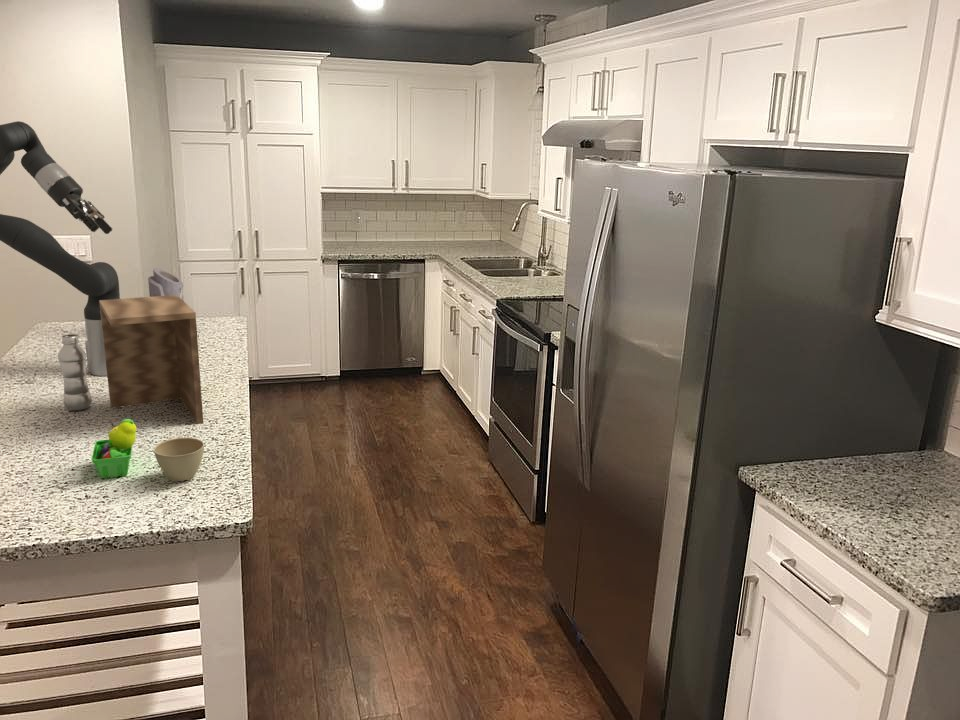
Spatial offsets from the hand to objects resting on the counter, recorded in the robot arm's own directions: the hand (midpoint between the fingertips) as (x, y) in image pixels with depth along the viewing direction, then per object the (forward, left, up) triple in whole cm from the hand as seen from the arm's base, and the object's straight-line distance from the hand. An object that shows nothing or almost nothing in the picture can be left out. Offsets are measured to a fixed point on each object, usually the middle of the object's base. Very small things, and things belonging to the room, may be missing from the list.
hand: (103, 230), depth 204 cm
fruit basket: (+42, -39, -45) cm, 73 cm away
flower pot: (+57, -36, -45) cm, 81 cm away
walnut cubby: (+24, -10, -45) cm, 52 cm away
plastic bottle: (+3, -16, -45) cm, 48 cm away
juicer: (-37, +51, -45) cm, 77 cm away
